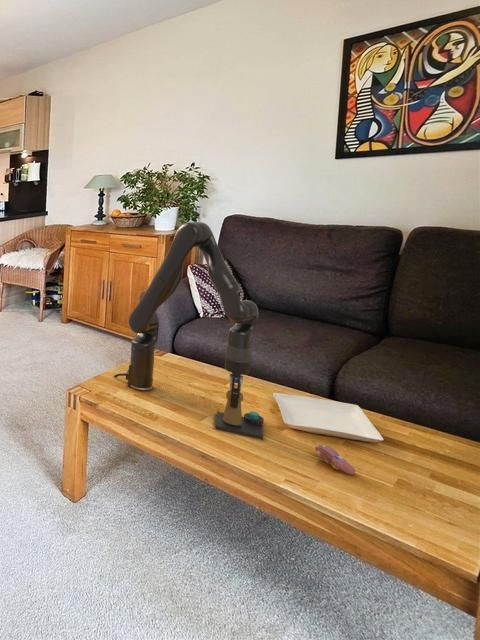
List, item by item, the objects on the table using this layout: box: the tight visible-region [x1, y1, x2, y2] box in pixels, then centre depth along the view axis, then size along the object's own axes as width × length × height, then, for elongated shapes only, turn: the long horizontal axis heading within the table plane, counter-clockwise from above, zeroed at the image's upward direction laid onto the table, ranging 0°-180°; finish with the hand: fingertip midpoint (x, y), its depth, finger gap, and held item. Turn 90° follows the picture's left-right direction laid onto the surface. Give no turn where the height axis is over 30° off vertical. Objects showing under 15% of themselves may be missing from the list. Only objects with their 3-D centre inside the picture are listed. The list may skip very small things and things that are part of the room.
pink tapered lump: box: [314, 443, 356, 475], centre depth 143 cm, size 10×5×7 cm, turn 5°
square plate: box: [272, 392, 384, 443], centre depth 169 cm, size 27×27×4 cm
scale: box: [215, 411, 265, 441], centre depth 167 cm, size 14×13×3 cm
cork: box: [223, 389, 244, 425], centre depth 166 cm, size 6×6×11 cm
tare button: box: [248, 411, 260, 420], centre depth 167 cm, size 3×3×2 cm
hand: (233, 403), depth 166 cm, fingers closed on cork, 5 cm apart
